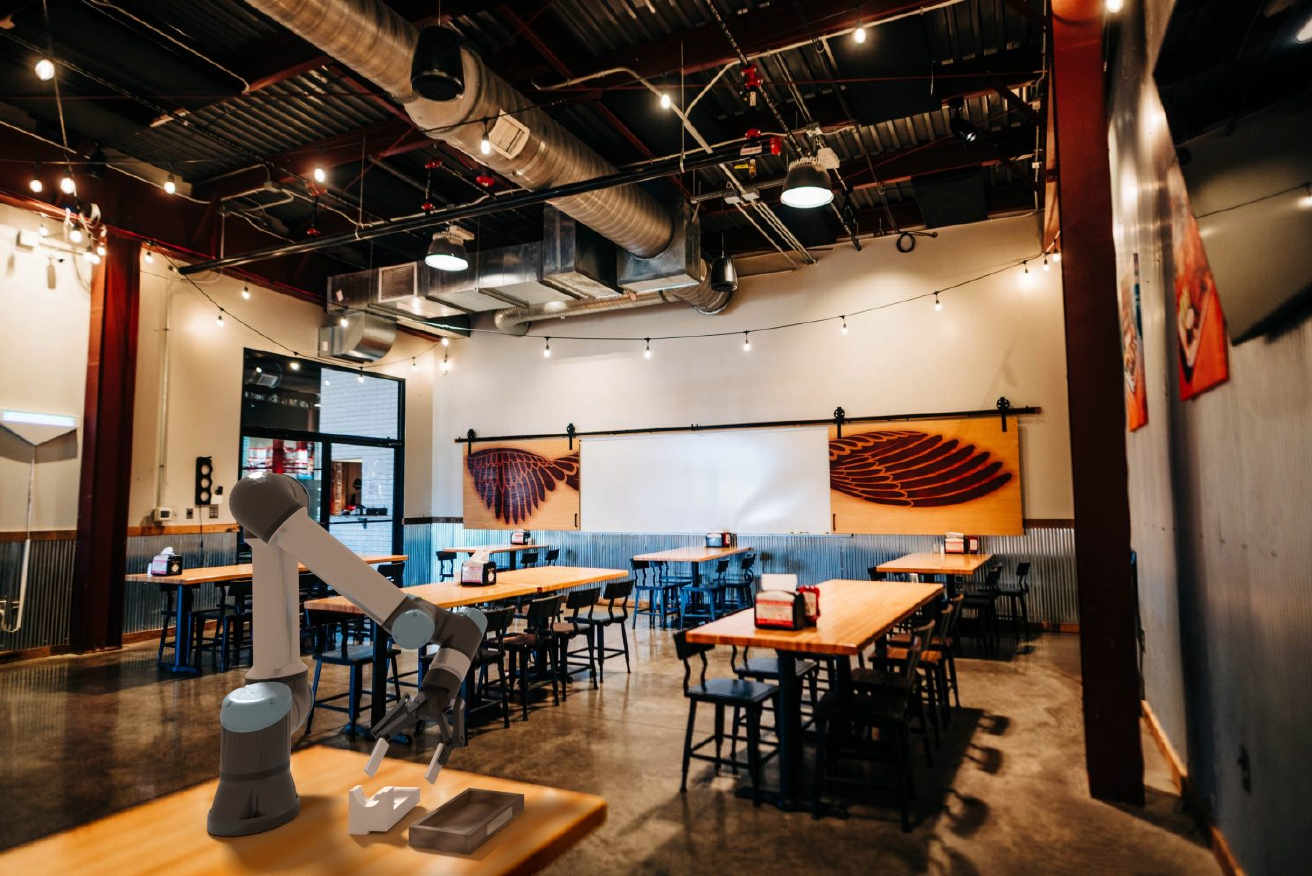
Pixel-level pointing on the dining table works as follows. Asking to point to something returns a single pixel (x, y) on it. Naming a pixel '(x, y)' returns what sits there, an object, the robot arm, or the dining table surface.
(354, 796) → the bracket
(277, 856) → the dining table surface
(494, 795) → the walnut tray
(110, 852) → the dining table surface
